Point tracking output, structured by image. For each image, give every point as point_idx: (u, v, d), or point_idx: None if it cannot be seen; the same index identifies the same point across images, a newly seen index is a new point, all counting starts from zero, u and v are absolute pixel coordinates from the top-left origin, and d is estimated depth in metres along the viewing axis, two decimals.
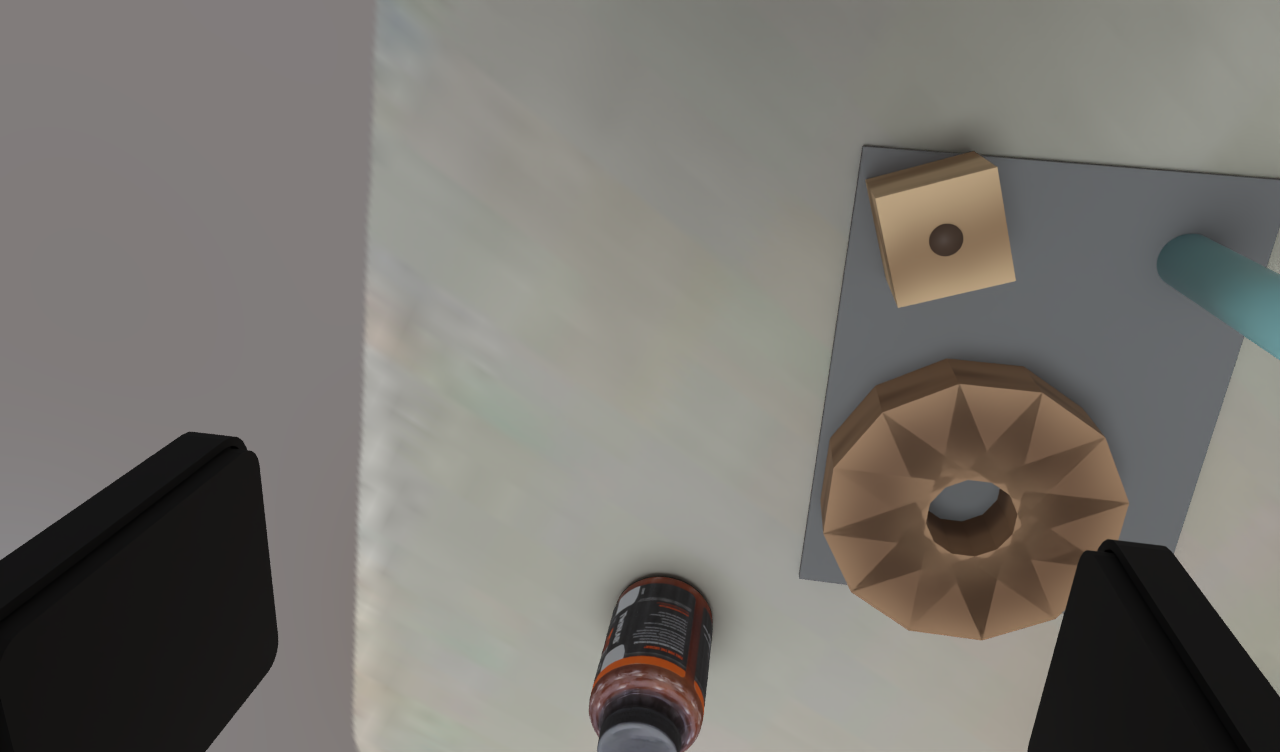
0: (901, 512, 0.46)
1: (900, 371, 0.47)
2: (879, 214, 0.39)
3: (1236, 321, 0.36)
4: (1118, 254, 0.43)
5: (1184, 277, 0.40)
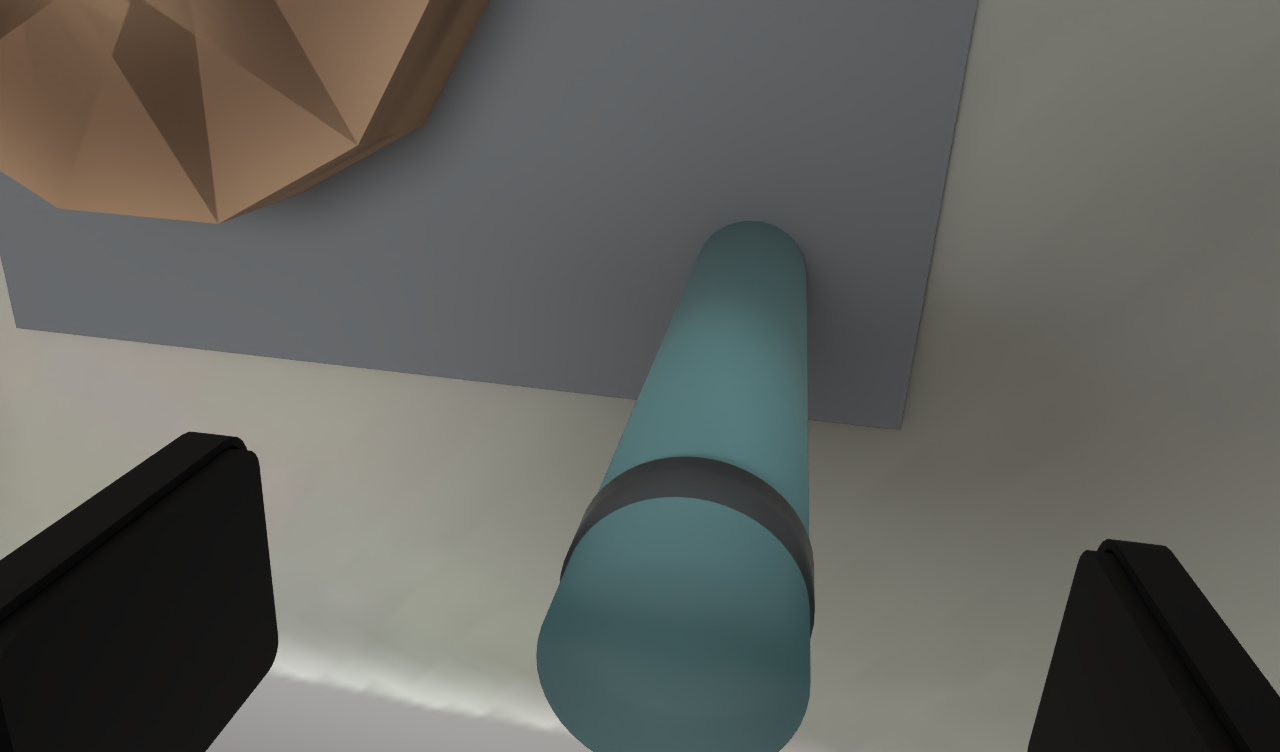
0: None
1: None
2: None
3: (693, 341, 0.14)
4: (764, 142, 0.20)
5: (741, 254, 0.18)
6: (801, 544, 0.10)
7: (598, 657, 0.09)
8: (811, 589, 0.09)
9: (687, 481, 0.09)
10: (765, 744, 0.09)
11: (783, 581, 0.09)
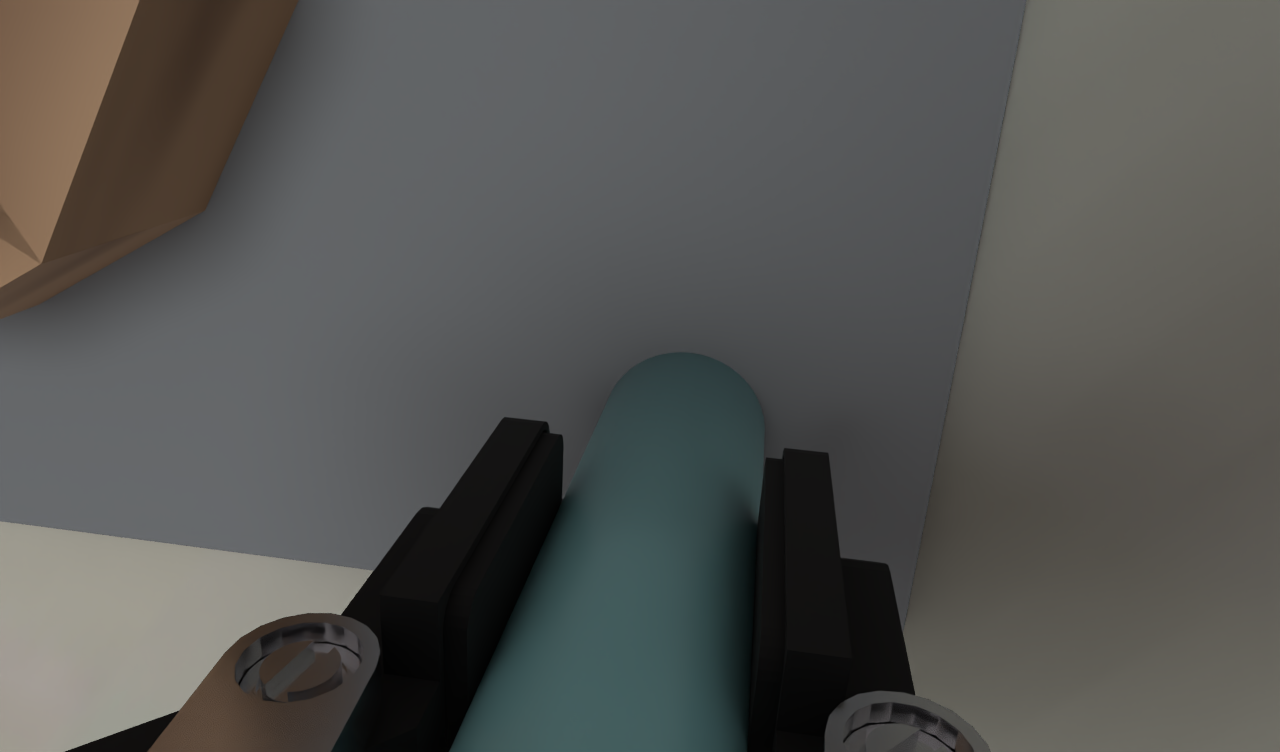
0: None
1: None
2: None
3: (522, 718, 0.07)
4: (699, 241, 0.14)
5: (658, 435, 0.11)
6: None
7: None
8: None
9: None
10: None
11: None
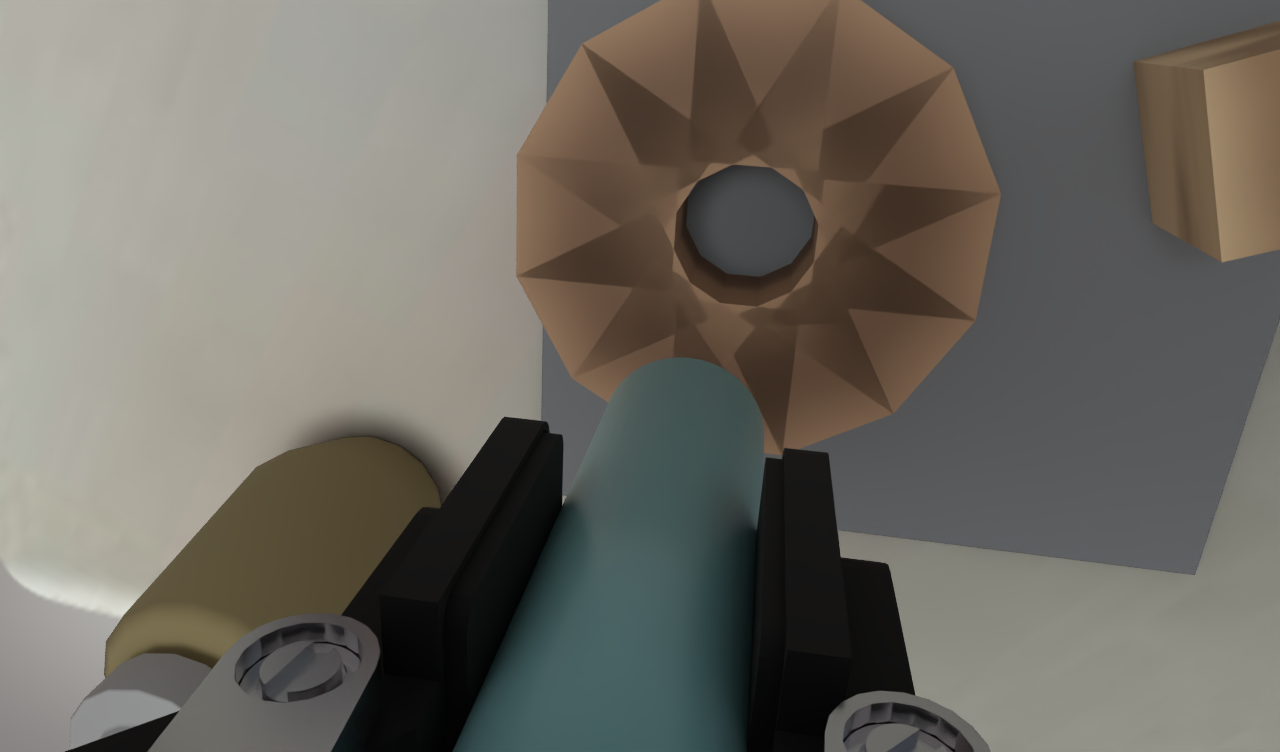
0: (752, 120, 0.26)
1: None
2: None
3: (522, 726, 0.07)
4: (1123, 393, 0.31)
5: (657, 441, 0.11)
6: None
7: None
8: None
9: None
10: None
11: None
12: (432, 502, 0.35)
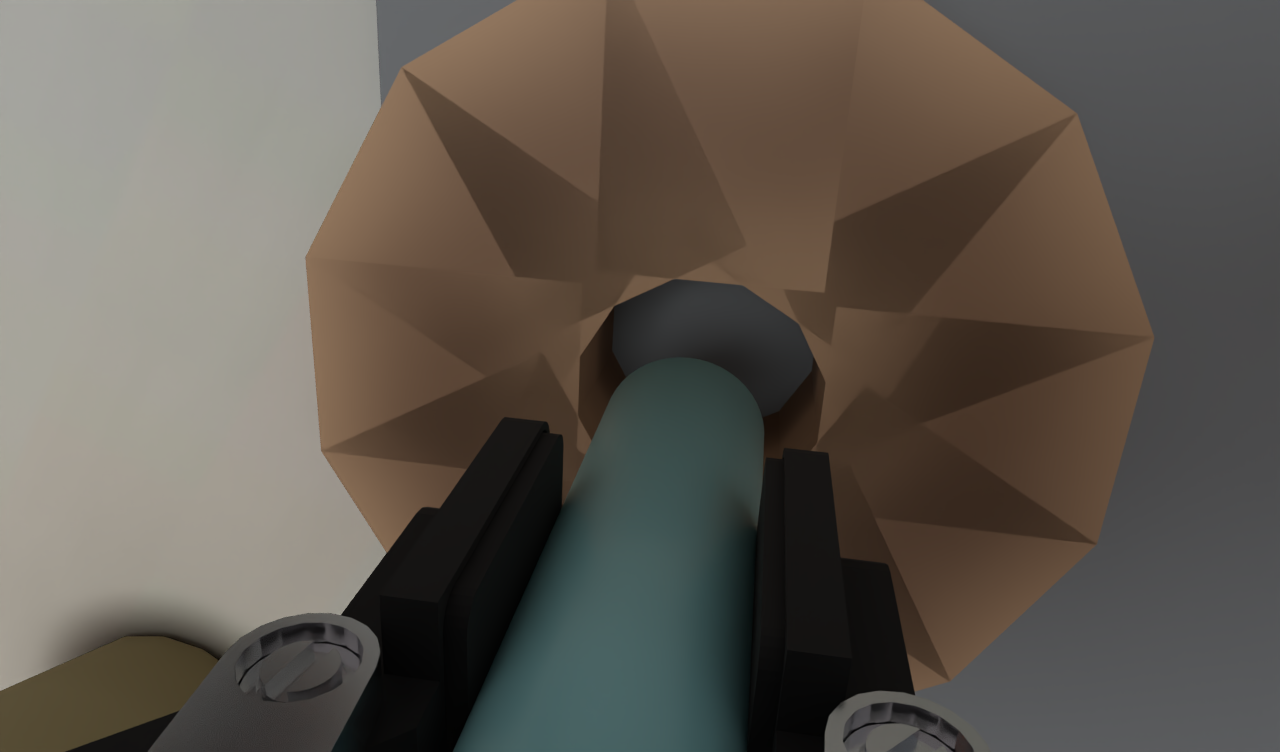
0: (707, 204, 0.15)
1: None
2: None
3: (521, 726, 0.07)
4: None
5: (657, 441, 0.11)
6: None
7: None
8: None
9: None
10: None
11: None
12: None
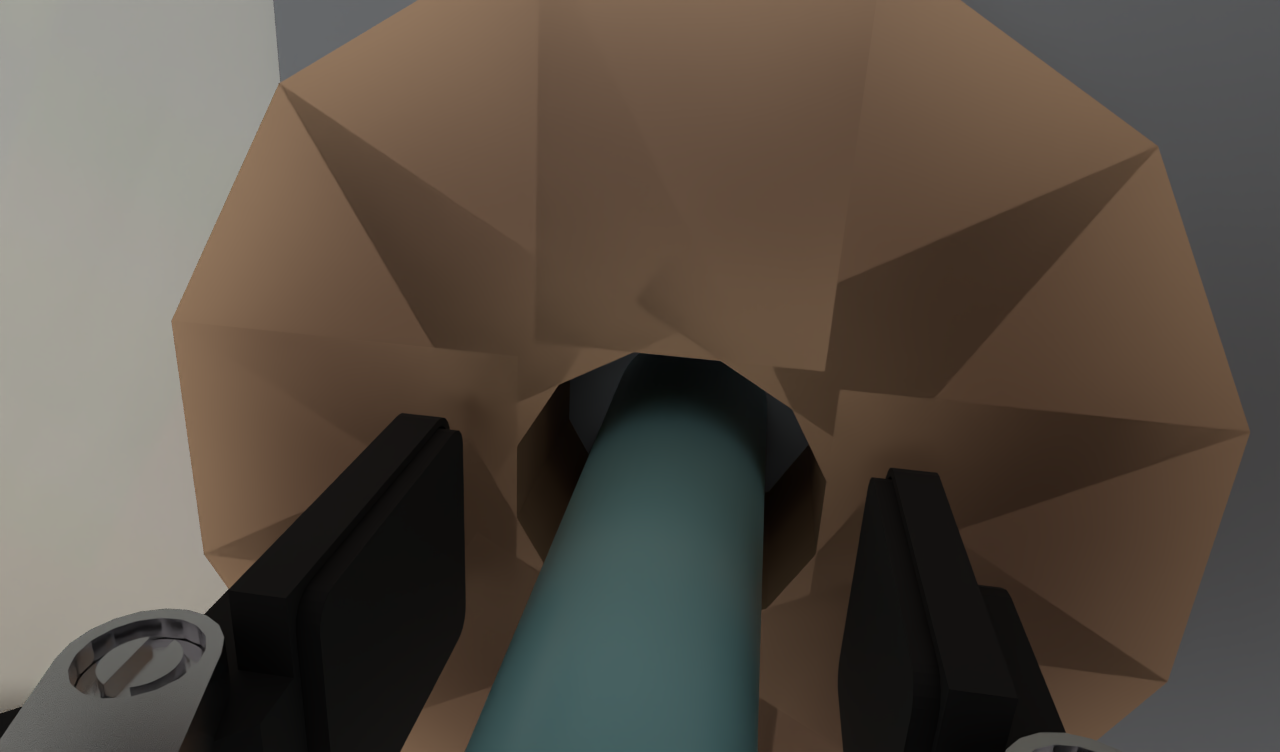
0: (674, 259, 0.11)
1: None
2: None
3: (559, 651, 0.08)
4: None
5: (669, 411, 0.12)
6: None
7: None
8: None
9: None
10: None
11: None
12: None
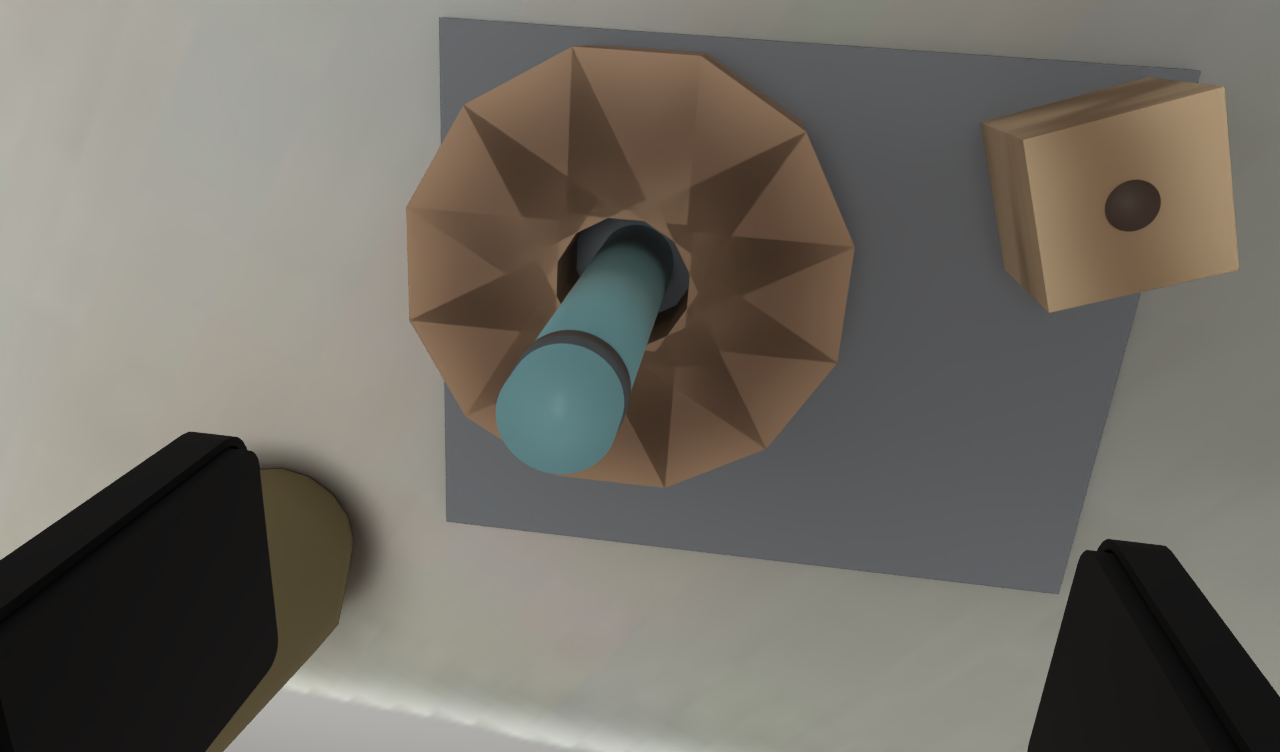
0: (624, 177, 0.28)
1: (825, 157, 0.30)
2: (1192, 96, 0.24)
3: (582, 287, 0.24)
4: (986, 426, 0.33)
5: (623, 244, 0.29)
6: (621, 368, 0.20)
7: (523, 411, 0.19)
8: (624, 387, 0.20)
9: (566, 338, 0.20)
10: (599, 450, 0.19)
11: (606, 376, 0.19)
12: (340, 532, 0.36)
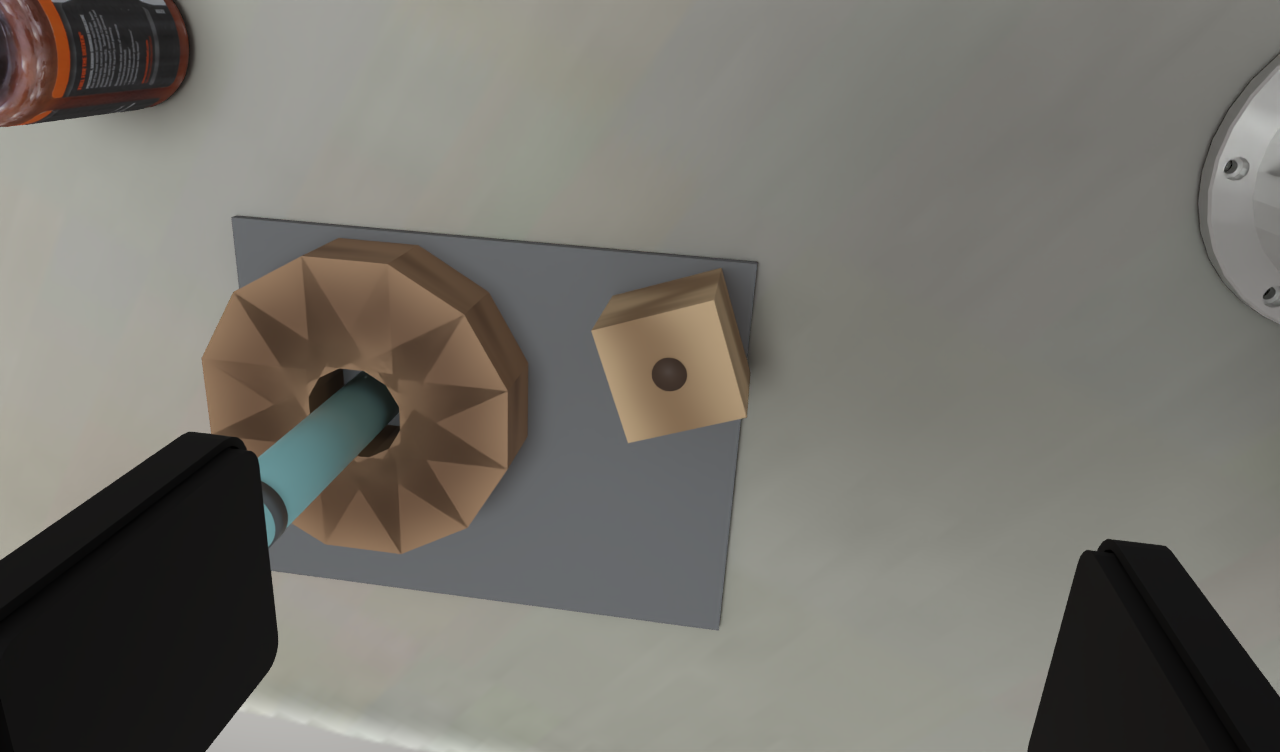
0: (346, 341, 0.39)
1: (508, 317, 0.42)
2: (695, 305, 0.35)
3: (291, 432, 0.36)
4: (648, 507, 0.44)
5: (354, 384, 0.41)
6: (273, 503, 0.32)
7: None
8: (273, 515, 0.32)
9: None
10: None
11: None
12: None
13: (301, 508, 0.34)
